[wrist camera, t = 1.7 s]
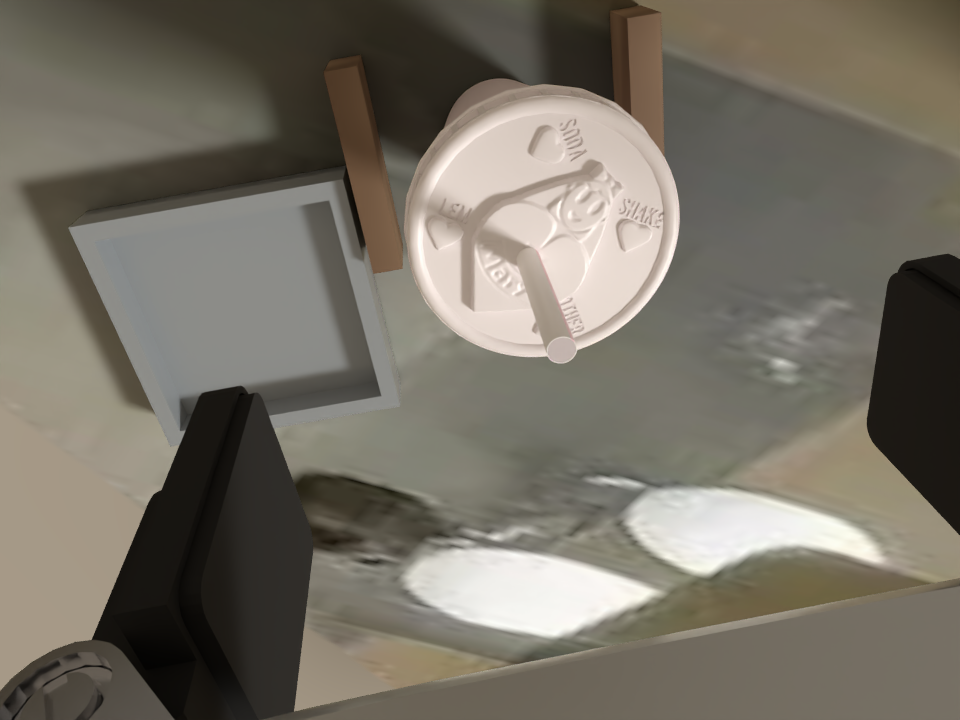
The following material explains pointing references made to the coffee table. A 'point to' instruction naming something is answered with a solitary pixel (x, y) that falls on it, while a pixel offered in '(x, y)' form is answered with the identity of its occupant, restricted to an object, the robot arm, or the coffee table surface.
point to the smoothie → (539, 219)
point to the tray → (246, 298)
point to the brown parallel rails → (355, 120)
